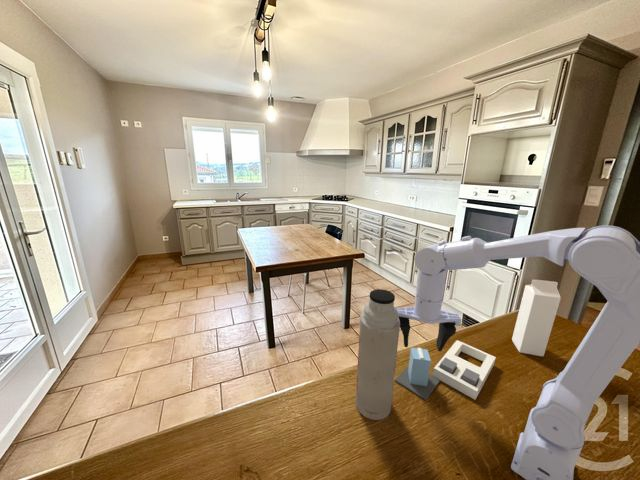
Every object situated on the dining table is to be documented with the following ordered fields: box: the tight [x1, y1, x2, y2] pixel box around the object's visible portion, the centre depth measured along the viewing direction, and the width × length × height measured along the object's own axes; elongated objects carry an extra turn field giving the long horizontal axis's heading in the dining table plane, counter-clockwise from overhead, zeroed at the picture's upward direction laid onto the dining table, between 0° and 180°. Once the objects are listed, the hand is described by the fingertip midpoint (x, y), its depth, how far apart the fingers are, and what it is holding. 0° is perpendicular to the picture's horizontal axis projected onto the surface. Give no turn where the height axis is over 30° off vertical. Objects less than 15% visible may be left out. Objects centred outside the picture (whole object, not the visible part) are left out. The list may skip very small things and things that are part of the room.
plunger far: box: [440, 358, 457, 374], centre depth 68 cm, size 3×3×3 cm
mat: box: [394, 364, 441, 402], centre depth 67 cm, size 8×8×1 cm
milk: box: [511, 279, 562, 357], centre depth 76 cm, size 6×6×22 cm
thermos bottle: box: [355, 288, 401, 421], centre depth 56 cm, size 8×8×28 cm
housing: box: [432, 339, 497, 401], centre depth 70 cm, size 16×10×2 cm, turn 134°
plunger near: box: [461, 368, 480, 387], centre depth 64 cm, size 3×3×3 cm
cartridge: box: [408, 347, 432, 386], centre depth 66 cm, size 4×4×8 cm
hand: (422, 346), depth 64 cm, fingers open, 7 cm apart
